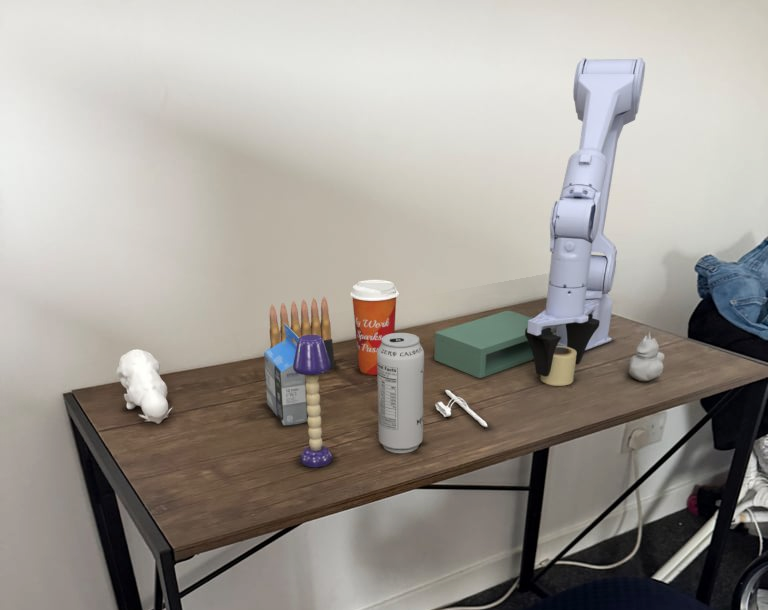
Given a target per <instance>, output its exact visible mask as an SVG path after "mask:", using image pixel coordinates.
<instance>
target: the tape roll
mask: <svg viewBox="0 0 768 610" xmlns="http://www.w3.org/2000/svg"><path fill="white" fill-rule="evenodd" d="M576 355H577V352H576V350H574V349H572V348H570V347H565V346H557V347H556V349H555V352H554V355H553V360H552V365H551V370H550V373H549V376H542V375H540V381H541V382H542V383H544V384H547V385H549V386H554V387H563V386H569V385H571V384H572V383H573V382H574V378H575V370H576V364H575V363H576Z"/></svg>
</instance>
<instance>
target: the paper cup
mask: <svg viewBox="0 0 768 610" xmlns="http://www.w3.org/2000/svg"><path fill="white" fill-rule="evenodd" d="M399 295H400V293H399V291H398V288H397V287H396V285H395V283H394V282H393V281H389V280H384V279H366V280H361V281H358V282H356V283H355V284H354V285H352V290H351V291H350V297H351V298H352V308H353V319H354V329H355V340H356V349H357V350H356V351H357V358H358V361H357V362H358V367H359V371H360V372H361V373H362V374H365V375H370V376H377V351H378V349H379V347H380V345H381V343H382V337H384V336H385V335H388V334H392V333H396V311H397V310H396V309H397V297H398V296H399Z"/></svg>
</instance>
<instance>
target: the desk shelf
mask: <svg viewBox="0 0 768 610" xmlns="http://www.w3.org/2000/svg"><path fill="white" fill-rule="evenodd" d="M533 318H534V317H531V316H528V315H524V314H522V313H518V312H515V311H511V310H509V309H508V310H504V311H500V312H497V313H494V314H491V315H487V316H484V317H480V318H477V319H475V320H471V321H468V322H465V323H461V324H458V325H454V326H451V327H447V328H444V329H440V330H437V331H435V332H434V355H433V359H434V361H436V362H438V363H441V364H443V365H445V366H448V367H450V368H453V369H455V370H458V371H460V372H463V373H466V374H467V375H470V376H473V377H475V378H478V379H482V378H486V377H488V376H491V375H493V374H496V373H499V372H502V371H505V370H508V369H510V368H514V367H516V366H518V365H522V364H525V363H527V362H530V361H534V357H533V353H532V349H531V346H530V344H529V342H528V340H527V338H526V336H525V329H526V328H528V320H531V319H533ZM555 329H556V327H555V328H552V329H551V332H553V335H555Z"/></svg>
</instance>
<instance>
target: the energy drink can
mask: <svg viewBox="0 0 768 610" xmlns="http://www.w3.org/2000/svg"><path fill="white" fill-rule="evenodd" d="M420 340H421V339H420V337H419V336H418V335H416V334H414V333H408V332H395V333H392V334H388V335H385V336H384V337H382V343H381V345H380V347H379V349H378V351H377V375H376V376H377V418H378V419H377V421H378V422H377V423H378V424H377V425H378V426H377V427H378V442H379V443H380V444H381V445H382V448H383V449H384V450H385V451H388V452H390V453H393V454H407V453H408V454H409V453H412V452H414V451H415V450H417V449H418V448H419V446H420V444H421V443H422V442H423V439H424V392H425V391H424V390H425V389H424V384H425V383H424V382H425V380H424V379H425V378H424V377H425V350H424V349H423V347H422V344H421V343H420Z"/></svg>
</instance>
